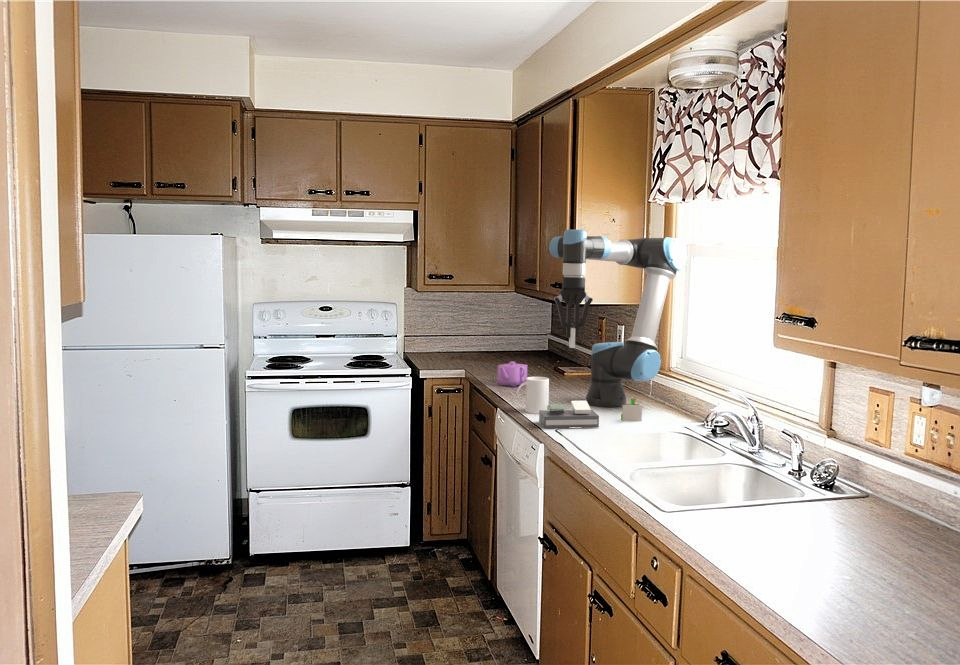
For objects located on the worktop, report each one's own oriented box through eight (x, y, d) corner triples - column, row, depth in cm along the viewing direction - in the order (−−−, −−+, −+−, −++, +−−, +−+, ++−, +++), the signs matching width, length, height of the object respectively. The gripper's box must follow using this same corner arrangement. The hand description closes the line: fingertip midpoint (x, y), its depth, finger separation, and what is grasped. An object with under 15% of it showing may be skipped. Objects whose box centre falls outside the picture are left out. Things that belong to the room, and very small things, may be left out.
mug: (518, 414, 285) (518, 380, 283) (514, 409, 293) (515, 376, 292) (551, 413, 286) (551, 380, 284) (546, 408, 294) (547, 376, 293)
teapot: (512, 390, 331) (512, 365, 330) (484, 386, 339) (484, 362, 338) (535, 384, 346) (535, 360, 345) (508, 380, 354) (508, 357, 353)
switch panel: (591, 421, 274) (591, 406, 274) (598, 427, 264) (599, 413, 264) (539, 421, 272) (539, 407, 272) (544, 428, 262) (544, 413, 262)
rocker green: (562, 409, 271) (562, 405, 271) (566, 408, 264) (566, 404, 264) (547, 409, 271) (547, 405, 271) (550, 408, 264) (550, 404, 264)
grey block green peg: (618, 420, 278) (618, 397, 277) (637, 419, 279) (637, 396, 278) (622, 422, 274) (623, 399, 273) (641, 422, 275) (642, 399, 274)
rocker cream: (586, 404, 272) (586, 400, 271) (590, 413, 265) (590, 409, 265) (570, 404, 271) (571, 400, 271) (575, 413, 265) (575, 409, 264)
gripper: (590, 276, 271) (588, 346, 273) (552, 275, 270) (550, 346, 273) (595, 277, 264) (593, 349, 266) (556, 276, 263) (554, 348, 265)
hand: (571, 347), depth 269 cm, fingers closed
